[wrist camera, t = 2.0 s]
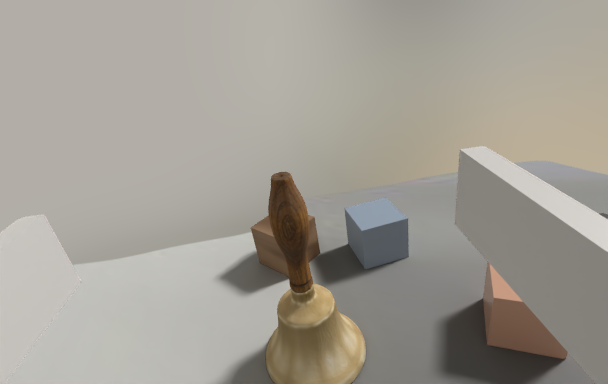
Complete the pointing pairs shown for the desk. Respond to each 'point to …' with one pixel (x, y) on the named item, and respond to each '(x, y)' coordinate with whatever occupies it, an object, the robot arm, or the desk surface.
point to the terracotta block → (514, 321)
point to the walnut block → (270, 249)
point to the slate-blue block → (377, 232)
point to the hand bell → (307, 306)
